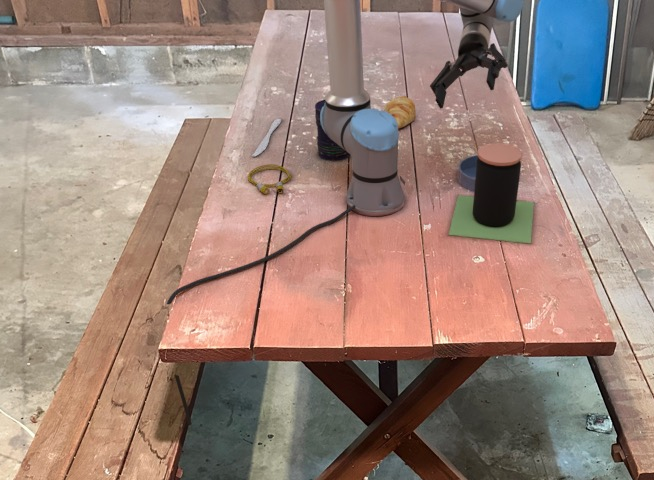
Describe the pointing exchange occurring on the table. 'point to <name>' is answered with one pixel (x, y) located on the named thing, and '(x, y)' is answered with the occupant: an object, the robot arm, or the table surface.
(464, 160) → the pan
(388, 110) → the croissant
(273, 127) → the butter knife
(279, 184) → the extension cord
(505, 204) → the coffee jar
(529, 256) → the table surface
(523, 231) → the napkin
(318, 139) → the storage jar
